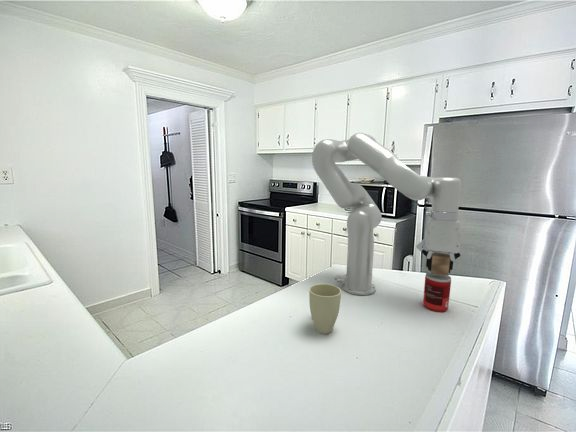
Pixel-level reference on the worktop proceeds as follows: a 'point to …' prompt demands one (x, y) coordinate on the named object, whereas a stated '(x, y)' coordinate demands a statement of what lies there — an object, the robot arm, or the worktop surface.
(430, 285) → the canned food
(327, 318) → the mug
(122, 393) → the worktop surface
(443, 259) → the walnut block
